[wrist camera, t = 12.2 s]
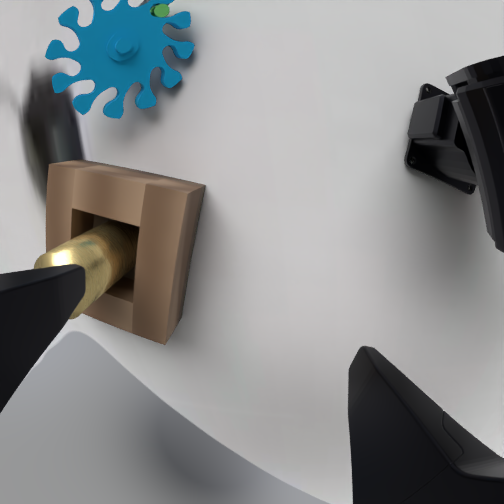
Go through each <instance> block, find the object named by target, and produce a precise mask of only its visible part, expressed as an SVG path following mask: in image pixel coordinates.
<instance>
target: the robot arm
mask: <svg viewBox="0 0 504 504" xmlns="http://www.w3.org/2000/svg"><path fill="white" fill-rule="evenodd" d="M446 79H447V82H448V84H449V86H451V87H452V89H453V92H454V94H450V95H449V94H448V93H446V92H444V91H442V90H440V89H438V88H436V87H435V86H433V85H431V84H428V83H427V84H423V85H422V86H421V88H420V94H419V99H418V102H416V103H415V104H414V108H413V113H412V117H411V122H410V126H409V130H408V136H409V138H410V139H409V143H408V147H407V151H406V155H405V160H404V161H405V164H406V165H407V166H408V167H410V168H412V169H415V170H417V171H419V172H422V173H424V174H426V175H429V176H431V177H433V178H435V179H437V180H440V181H442V182H444V183H446V184H448V185H450V186H452V187H454V188H456V189H458V190H460V191H462V192H464V193H467V194H473V193H474V191H475V187H476V185H478V186H479V191H480V195H481V200H482V204H483V210H484V215H485V221H486V227H487V232H488V233H489V235H490V236H491V238H492V239H493V240H494V241H495V247H496V248H497V249H498V250H500V251H502V252H503V253H504V56H501V57H496V58H493V59H489V60H485V61H482V62H479V63H475V64H472V65H470V66H467V67H465V68H462V69H460V70H459V71H457V72H455V73H453V74H451V75H449V76H447V77H446ZM426 88H428V89H429V93H427V91H426ZM411 157H412V158H413V159H414V162H413V163H412V164H411V163H410V158H411ZM469 185H470V189H469V190H468V186H469ZM85 291H86V281H85V269H84V267H82V266H80V265H77V264H66V265H59V266H52V267H45V268H38V269H31V270H25V271H18V272H11V273H4V274H0V413H1V411H2V410H3V408H4V407H5V405H6V404H7V402H8V401H9V399H10V398H11V396H12V395H13V393H14V392H15V391H16V389H17V388H18V386H19V385H20V383H21V382H22V381H23V379H24V378H25V376H26V375H27V374H28V372H29V371H30V370H31V368H32V367H33V366H34V364H35V363H36V362H37V360H38V359H39V358H40V356H41V355H42V354H43V352H44V351H45V350H46V348H47V347H48V346H49V345H50V343H51V342H52V341H53V339H54V338H55V337H56V336H57V334H58V333H59V332H60V331H61V329H62V328H63V327H64V325H65V324H66V322H67V321H68V319H69V318H70V316H71V314H72V313H73V311H74V310H75V308H76V307H77V305H78V304H79V303H80V301H81V300H82V298H83V297H84V294H85ZM348 420H349V432H350V446H351V463H352V486H353V504H504V458H502V457H500V456H499V455H497V454H496V453H495V452H493V451H492V450H491V449H490V448H488V447H487V446H486V445H484V444H483V443H482V442H481V441H479V440H478V439H477V438H475V437H474V436H473V435H472V434H470V433H469V432H468V431H467V430H466V429H464V428H463V427H462V426H461V425H460V424H458V423H457V422H456V421H455V420H454V419H453V418H452V417H450V416H449V415H448V414H447V413H446V412H445V411H443V409H442V408H441V407H439V406H438V405H437V404H436V403H435V402H434V401H433V400H432V399H431V398H429V397H428V396H427V395H426V394H425V393H424V392H423V391H422V390H421V389H420V388H418V387H417V386H416V385H415V384H414V383H413V382H412V381H411V380H410V379H408V378H407V377H406V376H405V375H404V374H403V373H402V372H401V371H400V370H398V369H397V368H396V367H395V366H394V365H393V364H392V363H391V362H389V361H388V360H387V359H386V358H385V357H384V356H383V355H382V354H381V353H379V352H378V351H377V350H376V349H375V348H373V347H368V346H362V347H360V349H359V350H358V352H357V354H356V356H355V358H354V360H353V361H352V363H351V365H350V368H349V382H348Z"/></svg>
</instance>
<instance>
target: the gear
mask: <svg viewBox="0 0 504 504" xmlns="http://www.w3.org/2000/svg"><path fill="white" fill-rule="evenodd" d="M102 1H103V0H90V2H91V3H92V5H93V9H94V14H93V20H92V23H91V24H90V25H89V26H87V27H81V26H79V25H78V22H77V20H78V15H79V11H78V9H77V8H76V7H74V6H72V7H70V8H69V9H67V10H66V11H65V12H63V13H62V14H61V15H60V16H59V18H58V20H59V23H60V25H62V26H65V27H68V28H70V29H72V30H73V31H74V32H75V33H76V35H77V37H78V39H79V42H80V45H79V47H78V49H76V50H75V51H72V52H69V51H67V50H66V49H65V47H64V45H63V43H62V42H61V41H59V40H52V41H51V43H50V44H49V46H48V49H47V51H46V55H45V57H46V58H47V59H49V60H54V59H57V58H71V59H73V60H75V61H77V62H79V63H80V65H81V70H80V72H79V73H78V74H77V75H75V76H69V75H67V74H65V73H57V74H55V75H54V76H53V77H52V85H53V89H54V92H55V93H60V92H62V91H64V90H65V89H66V88H67V87H68V86H70V85H71V84H73V83H75V82H77V81H81V80H93V81H94V83H95V88H94V90H93V91H92V92H91V93H89V94H81V95H78V96H76V97H75V98H74V100H73V102H72V104H73V106H74V108H75V109H76V110H77V111H78V112H79V113H81V114H82V115H84V114H86V113H87V112H88V111H89V110H90V108H91V105H92V103H93V101H94V100H95V98H96V97H97V96H98V95H99V94H100V93H102V92H103V91H105V90H106V89H108V88H110V87H115V88H116V89H117V96H116V97H115V98H114V99H113V100H111V101H110V102H108V103H107V104H106V105H105V106H104V109H103V113H104V115H106V116H107V117H110V118H117V119H120V118H121V116H122V115H123V111H124V109H123V101H124V97H125V94H126V92H127V91H128V89H129V88H130V86H131V85H132V84H133V83H135V82H139V83H140V84H141V91H140V92H139V94H138V95H137V97H136V99H135V104H136V106H137V107H138V108H140V109H145V108H149V107H152V106H155V105H156V97H155V96H154V94H153V93H152V91H151V88H150V74H151V71H152V70H153V69H154V68H155V67H159V68H160V69H161V84H162V85H163V86H164V87H167V88H171V87H173V86H175V85H176V84H177V83H178V82H179V81H180V80H181V79H182V76H181V74H180V73H179V72H178V71H175V70H173V69H172V68H170V67H169V66H168V64H167V63H166V61H165V59H164V57H163V54H162V51H163V49H164V48H165V47H166V46H170V47H171V48H172V50H173V52H174V54H175V56H176V57H177V58H181V59H188V58H189V56H190V55H191V53H192V51H193V49H194V46H195V45H194V44H193V43H192V42H188V41H186V42H179V41H175V40H173V39H171V38H169V37H168V36H166V35H165V34H164V33H163V31H162V28H163V26H164V25H165V24H166V23H168V24H170V25H172V26H173V27H174V28H176V29H184V28H188V27H190V24H191V17H190V12H187V11H183V12H180V13H177V14H175V15H174V16H171V17H165V16H167V15H168V13H169V7H168V5H169V3H171V2H173V1H174V0H144V1H143V2H142V3H141V4H140V5H139V6H138V7H131V6H129V4H128V0H120V1H119V3H118V4H117V5H116V7H115V8H114V9H112V10H110V11H105V10H103V9H102V8H101V3H102Z"/></svg>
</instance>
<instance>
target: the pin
mask: <svg viewBox="0 0 504 504" xmlns="http://www.w3.org/2000/svg"><path fill="white" fill-rule="evenodd" d="M138 237H139V229H138V228H137V226H135V225H132V224H128V223H124V222H121V221H117V220H114V219H112V220H110V221H108V222H106V223H103V224H101V225H99V226H97V227H95V228H93V229H91V230H89V231H87V232H85V233H83V234H81V235H79V236H77V237H75V238H73V239H71V240H69V241H67V242H65V243H64V244H62V245H60V246H58V247H56V248H54V249H52V250H50V251H48V252H47V253H45V254H43V255H41V256H40V257H39V258H38V259H37V260H36V262H35V265H34V269H38V268H45V267H52V266H59V265H66V264H77V265H80V266H82V267H84V269H85V281H86V291H85V294H84V297H83V298H82V300H81V301H80V303H79V304H78V305H77V307H76V308H75V310H74V311H73V313H72V314H71V316H70V318H69V319H74V318H76V317H78V316H79V315H80V314H81V313H82V312H83V311H84V310H86V309H87V308H88V307H89V306H90V305H91V304H92V303H93V302H94V301H96V300H97V299H98V298H99V297H100V296H101V295H102V294H103V293H105V292H106V291H107V290H108V289H109V288H110V287H111V286H112V285H114V284H115V283H116V282H117V281H118V280H119V279H121V278H122V277H123V276H124V275H125V274H126V273H128V272H129V271H130V270H131V269H132V268H133V267H135V266H136V257H137V247H138Z"/></svg>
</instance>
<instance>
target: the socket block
mask: <svg viewBox="0 0 504 504" xmlns="http://www.w3.org/2000/svg"><path fill="white" fill-rule="evenodd" d="M205 186H206V185H203V184H198V183H194V182H190V181H185V180H181V179H176V178H172V177H167V176H163V175H158V174H153V173H149V172H144V171H139V170H134V169H129V168H124V167H119V166H114V165H108V164H103V163H97V162H92V161H86V160H74V161H67V162H60V163H54V164H49V171H48V183H47V200H46V253H47V252H48V251H50V250H52V249H54V248H56V247H58V246H60V245H62V244H64V243H65V242H67V241H69V240H71V239H73V238H75V237H77V236H79V235H81V234H83V233H85V232H87V231H89V230H91V229H93V228H95V227H97V226H99V225H101V224H103V223H106V222H108V221H110V220H112V219H114V220H117V221H121V222H124V223H128V224H132V225H135V226H137V228H138V229H139V237H138V247H137V257H136V266H135V267H133V268H132V269H131V270H130V271H129V272H128V273H126V274H125V275H124V276H123V277H122V278H121V279H119V280H118V281H117V282H116V283H115V284H114V285H112V286H111V287H110V288H109V289H108V290H107V291H106V292H105V293H103V294H102V295H101V296H100V297H99V298H98V299H97V300H96V301H94V302H93V303H92V304H91V305H90V306H89V307H88V308H87V309H86V310H84V311H83V312H82V313H83V314H86V315H88V316H90V317H93V318H95V319H97V320H100V321H102V322H105V323H107V324H110V325H112V326H115V327H117V328H120V329H122V330H125V331H127V332H130V333H133V334H135V335H138V336H141V337H144V338H146V339H149V340H152V341H155V342H158V343H161V344H164V345H166V343H167V341H168V339H169V338H170V336H171V334H172V333H173V331H174V329H175V328H176V326H177V324H178V322H179V321H180V319H181V317H182V311H183V305H184V298H185V292H186V286H187V280H188V274H189V268H190V262H191V257H192V251H193V246H194V240H195V235H196V230H197V225H198V220H199V214H200V210H201V205H202V200H203V195H204V190H205Z"/></svg>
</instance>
